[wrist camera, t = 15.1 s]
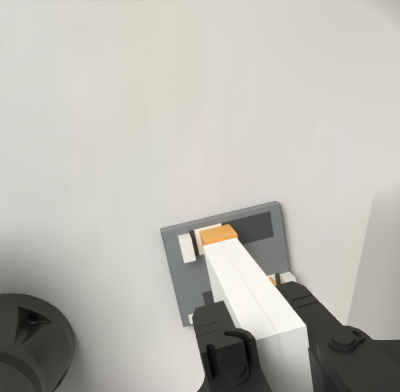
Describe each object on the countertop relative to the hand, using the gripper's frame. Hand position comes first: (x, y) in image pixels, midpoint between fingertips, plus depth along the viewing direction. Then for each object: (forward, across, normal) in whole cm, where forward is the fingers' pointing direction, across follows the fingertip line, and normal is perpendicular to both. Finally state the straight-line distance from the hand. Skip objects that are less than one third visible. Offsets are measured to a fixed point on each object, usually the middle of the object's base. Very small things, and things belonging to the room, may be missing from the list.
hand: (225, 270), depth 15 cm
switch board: (+29, +5, -14) cm, 33 cm away
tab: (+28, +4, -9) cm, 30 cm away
